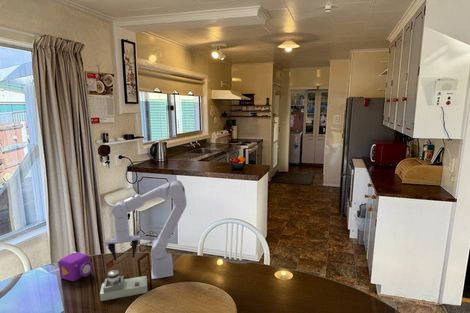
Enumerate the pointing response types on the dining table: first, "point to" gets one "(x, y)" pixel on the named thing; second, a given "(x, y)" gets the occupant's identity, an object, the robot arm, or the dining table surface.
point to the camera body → (123, 288)
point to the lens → (113, 277)
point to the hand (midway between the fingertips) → (124, 257)
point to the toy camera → (75, 266)
